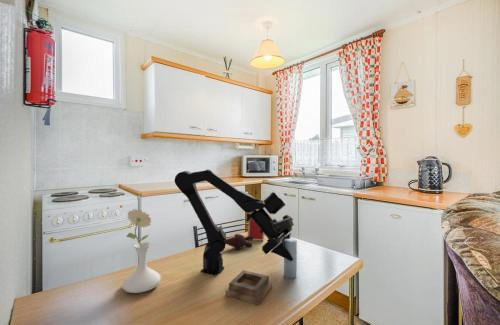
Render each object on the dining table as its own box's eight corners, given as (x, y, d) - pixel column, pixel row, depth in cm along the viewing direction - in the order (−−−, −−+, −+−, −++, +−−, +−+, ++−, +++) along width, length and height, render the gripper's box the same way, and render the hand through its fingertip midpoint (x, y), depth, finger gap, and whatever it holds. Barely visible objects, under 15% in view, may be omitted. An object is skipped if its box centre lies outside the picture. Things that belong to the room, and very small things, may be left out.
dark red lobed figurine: (223, 239, 103) (256, 239, 107) (221, 230, 110) (252, 230, 114) (221, 253, 105) (253, 252, 109) (219, 243, 112) (249, 243, 116)
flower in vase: (168, 283, 79) (168, 208, 78) (137, 301, 69) (136, 216, 68) (143, 273, 85) (143, 204, 85) (111, 288, 76) (111, 210, 75)
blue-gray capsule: (282, 276, 84) (282, 241, 83) (285, 271, 88) (286, 237, 87) (294, 279, 82) (294, 243, 81) (297, 273, 86) (298, 239, 85)
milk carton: (264, 235, 128) (265, 198, 128) (264, 241, 119) (264, 201, 119) (248, 234, 129) (248, 197, 129) (246, 240, 120) (246, 201, 120)
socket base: (225, 295, 72) (225, 283, 72) (241, 278, 82) (241, 268, 82) (258, 304, 68) (258, 292, 68) (271, 286, 78) (271, 275, 77)
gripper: (271, 214, 77) (304, 254, 73) (287, 204, 94) (315, 236, 90) (249, 235, 81) (280, 274, 76) (268, 221, 98) (294, 253, 93)
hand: (294, 257), depth 84 cm, fingers closed on blue-gray capsule, 4 cm apart
